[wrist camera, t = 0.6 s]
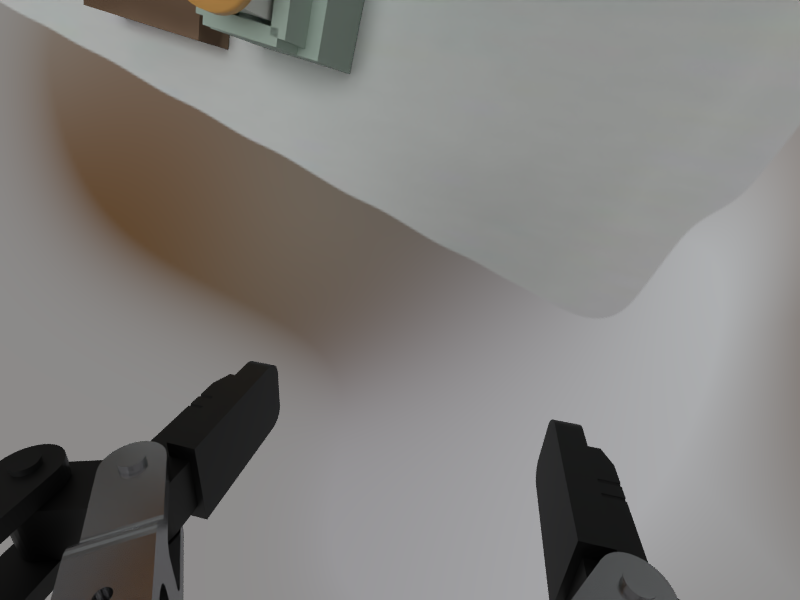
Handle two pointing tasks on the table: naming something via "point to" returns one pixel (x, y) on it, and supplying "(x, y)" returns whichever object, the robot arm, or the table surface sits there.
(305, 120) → the table surface
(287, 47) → the cabinet
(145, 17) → the rail bed
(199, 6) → the button
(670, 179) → the table surface
